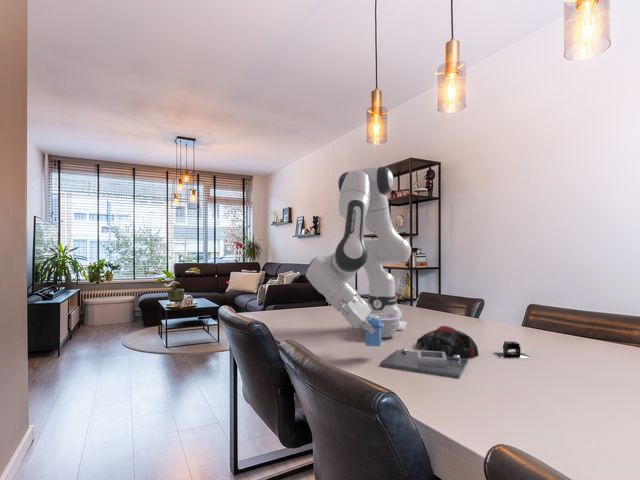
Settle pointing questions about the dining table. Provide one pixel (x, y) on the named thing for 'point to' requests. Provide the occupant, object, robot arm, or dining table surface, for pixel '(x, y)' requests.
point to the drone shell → (449, 342)
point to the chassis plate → (412, 364)
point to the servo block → (376, 336)
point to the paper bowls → (388, 324)
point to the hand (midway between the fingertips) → (375, 330)
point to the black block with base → (515, 354)
